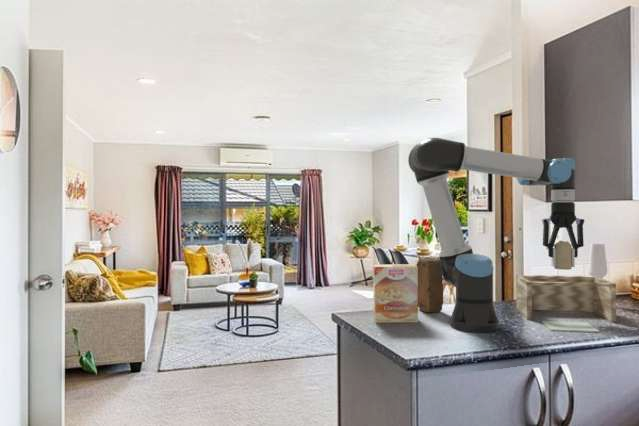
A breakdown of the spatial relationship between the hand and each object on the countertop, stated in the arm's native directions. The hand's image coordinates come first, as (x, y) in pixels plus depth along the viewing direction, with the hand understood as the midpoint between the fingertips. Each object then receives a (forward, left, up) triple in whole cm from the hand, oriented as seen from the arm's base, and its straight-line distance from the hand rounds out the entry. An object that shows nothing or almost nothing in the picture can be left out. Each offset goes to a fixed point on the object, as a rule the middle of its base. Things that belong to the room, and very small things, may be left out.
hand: (562, 266), depth 170 cm
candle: (0, 0, -1) cm, 1 cm away
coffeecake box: (-59, -16, -18) cm, 64 cm away
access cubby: (0, +1, -18) cm, 18 cm away
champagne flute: (+19, +23, -18) cm, 35 cm away
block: (-47, +1, -18) cm, 50 cm away
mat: (-3, -17, -18) cm, 25 cm away
